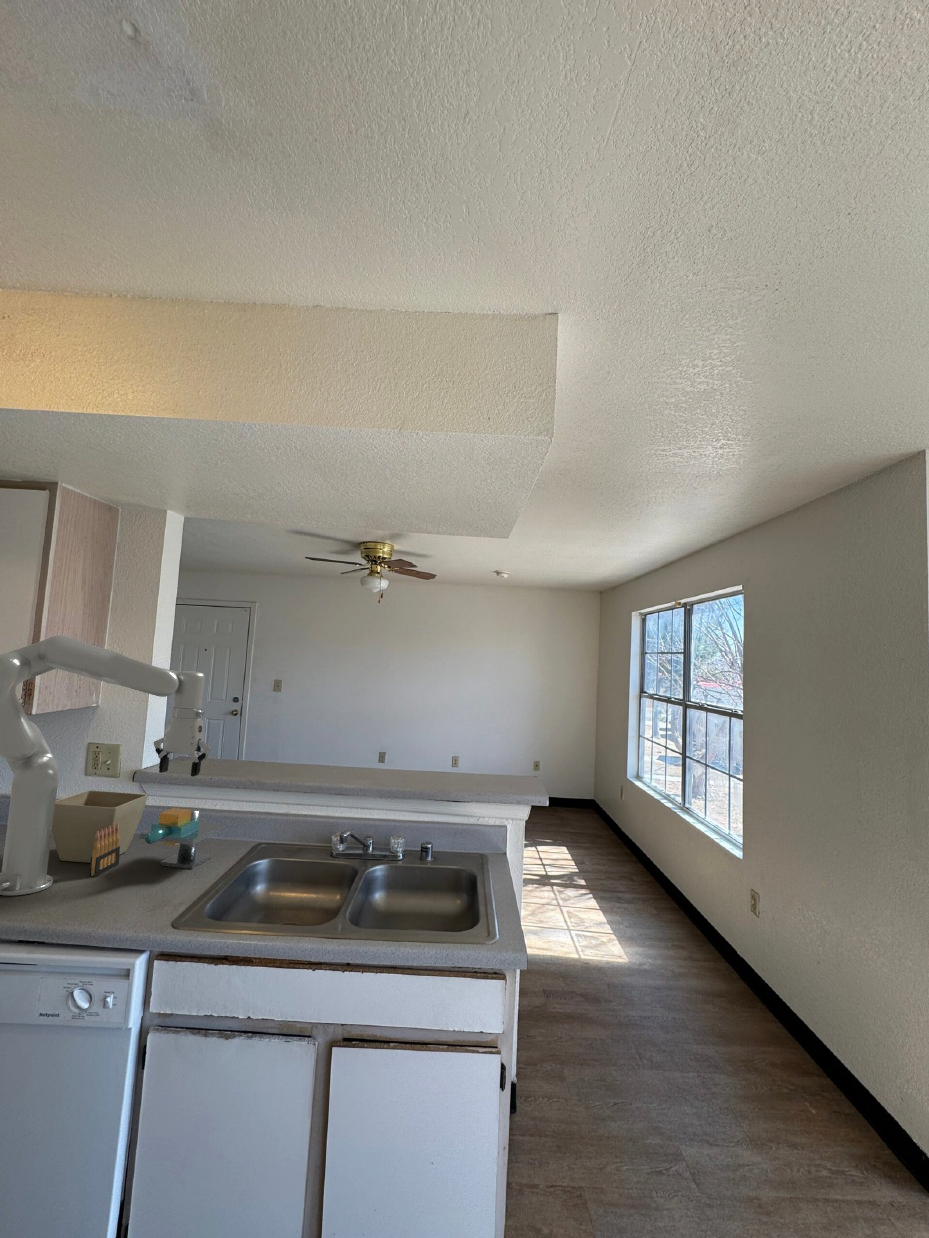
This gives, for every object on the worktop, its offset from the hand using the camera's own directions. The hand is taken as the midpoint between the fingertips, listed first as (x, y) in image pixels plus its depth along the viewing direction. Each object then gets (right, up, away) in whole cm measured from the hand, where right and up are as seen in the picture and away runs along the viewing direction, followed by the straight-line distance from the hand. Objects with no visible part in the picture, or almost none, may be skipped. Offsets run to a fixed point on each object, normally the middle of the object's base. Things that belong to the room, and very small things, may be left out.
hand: (178, 773), depth 175 cm
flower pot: (-27, -26, +5) cm, 38 cm away
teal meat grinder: (-2, -27, 0) cm, 27 cm away
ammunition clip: (-18, -26, -5) cm, 32 cm away
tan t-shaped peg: (-1, -20, -1) cm, 20 cm away
